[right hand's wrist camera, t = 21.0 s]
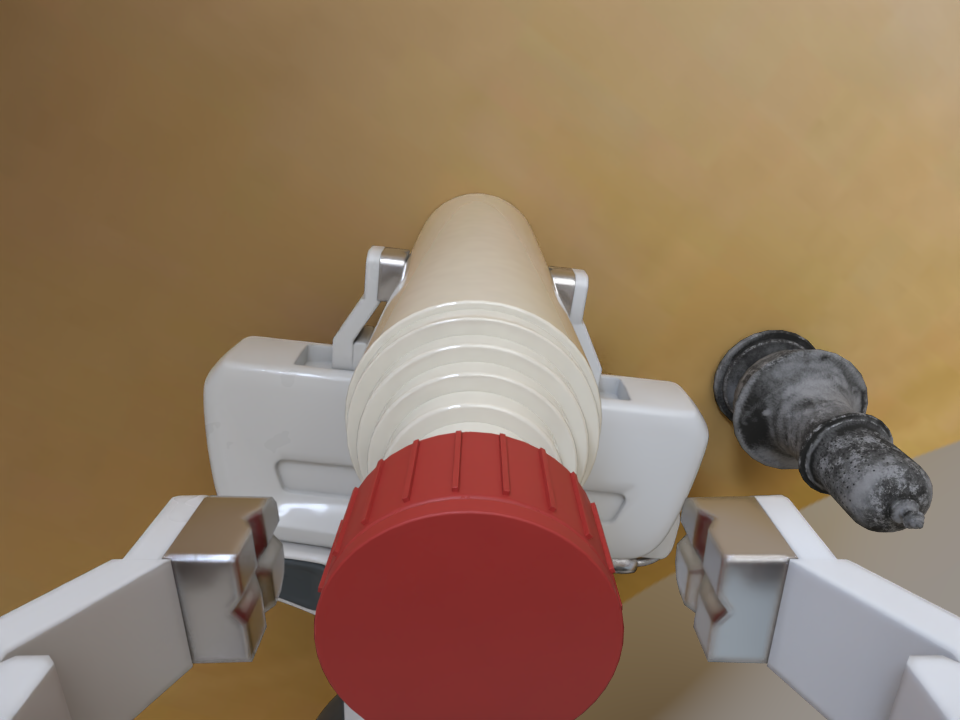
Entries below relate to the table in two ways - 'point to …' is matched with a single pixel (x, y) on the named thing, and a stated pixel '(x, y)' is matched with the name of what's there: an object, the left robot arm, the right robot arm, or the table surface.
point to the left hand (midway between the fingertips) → (477, 260)
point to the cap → (469, 587)
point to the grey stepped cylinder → (819, 428)
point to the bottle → (474, 346)
